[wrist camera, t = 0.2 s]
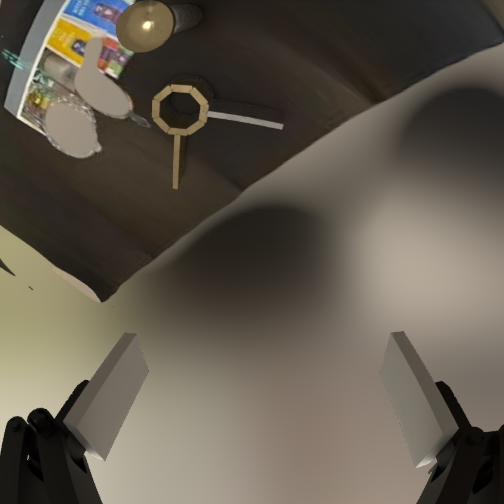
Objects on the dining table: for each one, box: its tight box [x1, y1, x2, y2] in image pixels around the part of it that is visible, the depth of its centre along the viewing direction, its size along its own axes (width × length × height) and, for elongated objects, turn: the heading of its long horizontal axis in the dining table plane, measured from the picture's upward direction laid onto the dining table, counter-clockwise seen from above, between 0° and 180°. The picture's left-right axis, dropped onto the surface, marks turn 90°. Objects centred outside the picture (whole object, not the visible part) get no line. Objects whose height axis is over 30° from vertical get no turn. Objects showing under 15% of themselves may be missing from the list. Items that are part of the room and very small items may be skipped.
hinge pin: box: [116, 0, 203, 52], centre depth 19 cm, size 5×5×16 cm
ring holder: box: [152, 74, 283, 189], centre depth 34 cm, size 14×20×5 cm
